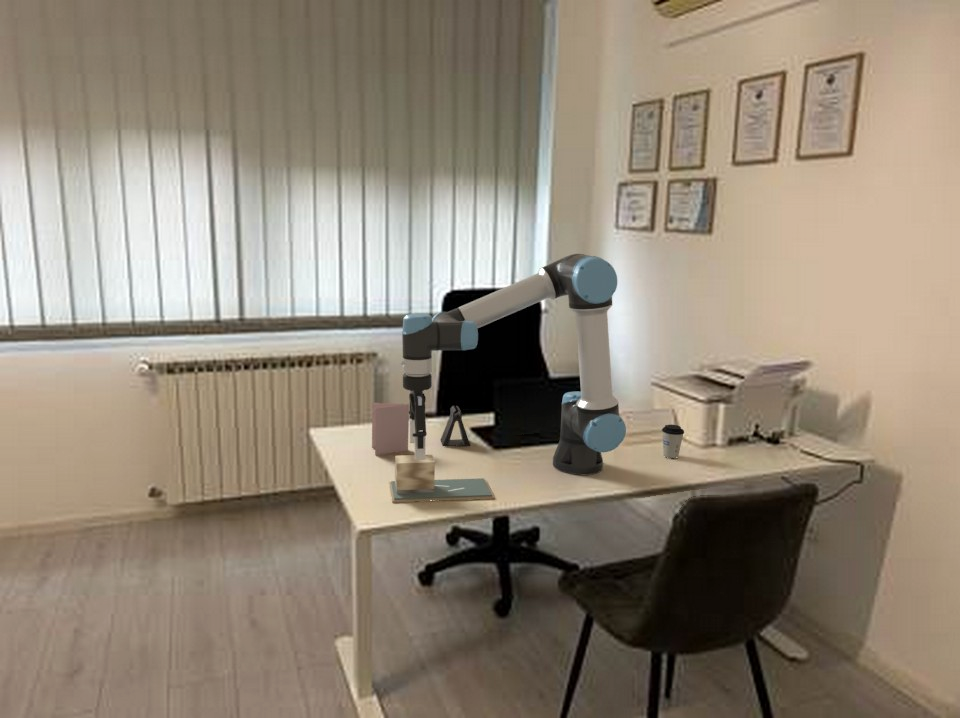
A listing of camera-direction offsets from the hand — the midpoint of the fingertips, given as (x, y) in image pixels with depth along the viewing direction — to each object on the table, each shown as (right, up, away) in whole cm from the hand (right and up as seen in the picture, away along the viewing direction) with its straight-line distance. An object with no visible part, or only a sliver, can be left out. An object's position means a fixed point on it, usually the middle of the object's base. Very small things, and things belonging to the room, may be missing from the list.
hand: (417, 450), depth 196 cm
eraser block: (-1, -10, +2) cm, 11 cm away
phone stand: (+9, -3, +44) cm, 45 cm away
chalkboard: (+6, -11, +4) cm, 13 cm away
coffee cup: (+78, -7, +39) cm, 87 cm away
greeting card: (-12, -5, +33) cm, 36 cm away
